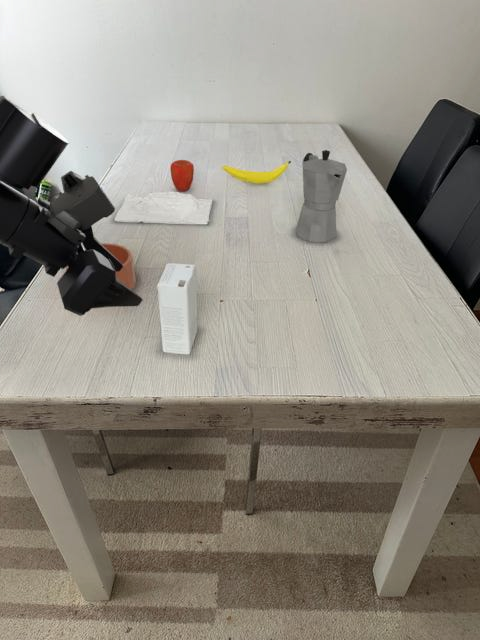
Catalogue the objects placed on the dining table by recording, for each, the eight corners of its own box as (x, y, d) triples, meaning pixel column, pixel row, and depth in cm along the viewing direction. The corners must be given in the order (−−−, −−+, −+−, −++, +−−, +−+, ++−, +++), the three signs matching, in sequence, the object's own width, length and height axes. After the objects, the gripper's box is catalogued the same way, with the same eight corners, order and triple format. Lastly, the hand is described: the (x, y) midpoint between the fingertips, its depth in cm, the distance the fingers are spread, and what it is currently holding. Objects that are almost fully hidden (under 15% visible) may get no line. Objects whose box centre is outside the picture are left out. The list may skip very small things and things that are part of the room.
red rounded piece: (198, 191, 118) (197, 163, 114) (176, 195, 116) (174, 166, 111) (189, 184, 123) (188, 156, 118) (168, 187, 120) (166, 159, 116)
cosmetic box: (171, 328, 70) (165, 261, 63) (199, 331, 69) (196, 263, 62) (161, 354, 65) (153, 284, 58) (191, 356, 64) (187, 286, 57)
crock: (76, 308, 74) (68, 280, 71) (68, 276, 82) (61, 249, 79) (142, 294, 78) (138, 267, 74) (128, 264, 86) (124, 239, 83)
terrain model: (122, 203, 113) (119, 184, 110) (212, 198, 115) (210, 178, 112) (113, 230, 100) (108, 209, 97) (214, 224, 101) (213, 203, 98)
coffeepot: (349, 244, 94) (364, 158, 84) (309, 250, 92) (319, 162, 81) (317, 216, 106) (326, 137, 95) (280, 220, 104) (286, 140, 93)
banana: (221, 181, 124) (221, 158, 121) (288, 182, 125) (290, 159, 121) (221, 185, 122) (221, 162, 118) (289, 185, 123) (291, 162, 119)
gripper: (73, 188, 39) (195, 269, 50) (45, 137, 52) (146, 209, 63) (3, 284, 41) (135, 343, 51) (-7, 211, 54) (100, 269, 65)
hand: (130, 284), depth 58 cm, fingers open, 9 cm apart
